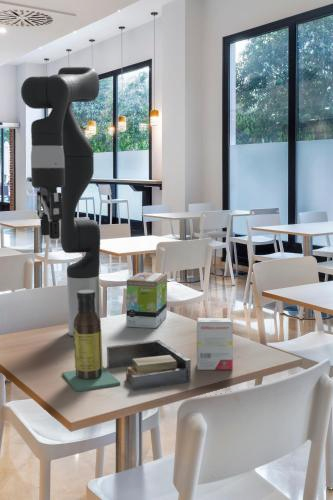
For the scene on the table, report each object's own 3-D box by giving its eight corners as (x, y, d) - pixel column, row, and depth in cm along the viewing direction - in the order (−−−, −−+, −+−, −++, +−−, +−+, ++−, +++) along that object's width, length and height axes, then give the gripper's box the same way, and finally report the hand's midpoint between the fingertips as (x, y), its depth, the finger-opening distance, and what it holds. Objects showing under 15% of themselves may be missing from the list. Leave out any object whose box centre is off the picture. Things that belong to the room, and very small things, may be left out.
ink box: (231, 363, 147) (231, 316, 146) (232, 370, 142) (233, 322, 141) (196, 363, 147) (196, 316, 146) (196, 370, 143) (197, 321, 141)
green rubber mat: (62, 374, 140) (62, 372, 139) (103, 368, 144) (103, 366, 144) (76, 391, 129) (76, 389, 129) (120, 384, 133) (120, 382, 133)
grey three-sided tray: (107, 366, 145) (106, 346, 145) (158, 359, 151) (158, 339, 150) (133, 390, 129) (133, 368, 129) (190, 381, 135) (190, 359, 134)
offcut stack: (125, 378, 137) (125, 359, 136) (169, 372, 141) (169, 353, 141) (135, 387, 131) (135, 367, 130) (180, 380, 136) (180, 361, 135)
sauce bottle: (85, 369, 141) (83, 286, 139) (107, 373, 138) (106, 289, 136) (69, 377, 136) (67, 291, 133) (92, 382, 133) (90, 294, 130)
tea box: (157, 329, 180) (157, 280, 178) (125, 327, 182) (124, 279, 180) (167, 317, 194) (167, 272, 192) (137, 315, 196) (137, 271, 194)
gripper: (72, 166, 131) (74, 239, 134) (56, 166, 144) (58, 233, 146) (38, 166, 128) (40, 240, 131) (25, 166, 141) (27, 234, 143)
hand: (50, 236), depth 139 cm, fingers open, 8 cm apart
